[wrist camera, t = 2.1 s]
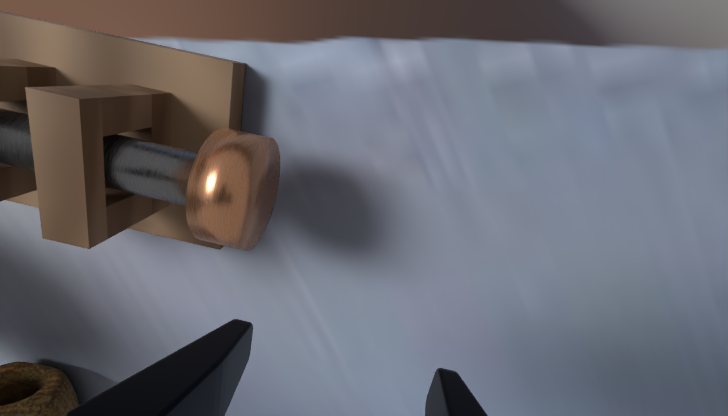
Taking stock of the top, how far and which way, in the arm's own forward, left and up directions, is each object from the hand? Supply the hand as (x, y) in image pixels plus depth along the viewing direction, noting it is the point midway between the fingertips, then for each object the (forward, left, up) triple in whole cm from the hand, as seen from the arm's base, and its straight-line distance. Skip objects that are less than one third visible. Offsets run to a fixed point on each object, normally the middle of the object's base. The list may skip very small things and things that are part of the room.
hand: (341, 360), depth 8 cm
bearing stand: (-15, 0, -13) cm, 20 cm away
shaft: (-11, 0, -11) cm, 16 cm away
